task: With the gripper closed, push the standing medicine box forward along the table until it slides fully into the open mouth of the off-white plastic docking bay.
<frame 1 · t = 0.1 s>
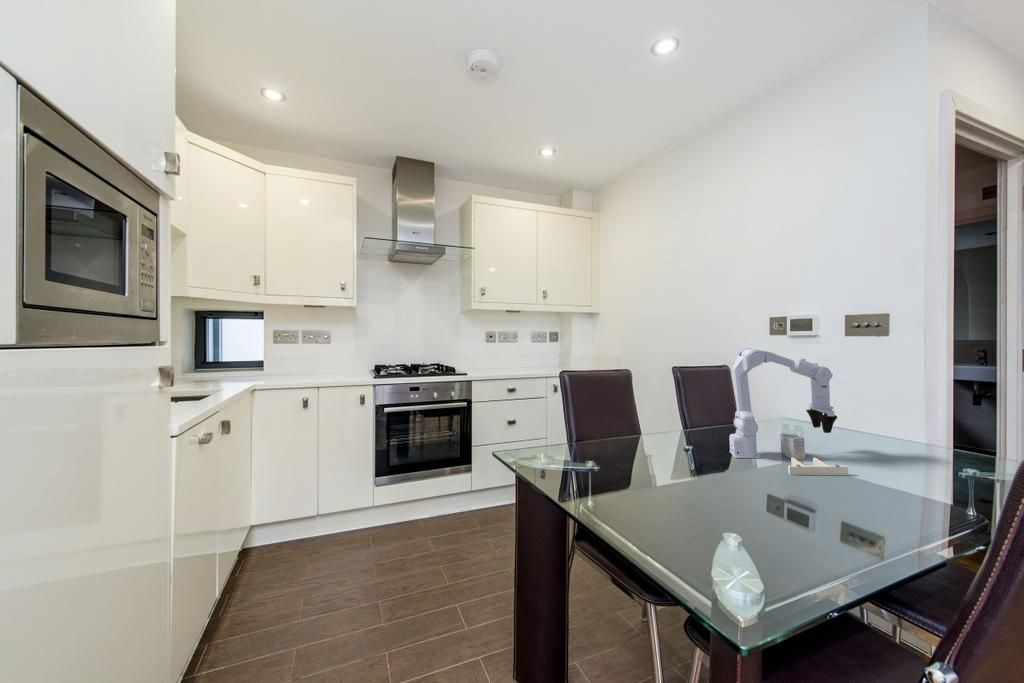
hand: (821, 429, 157), 10 cm above the table, tool pointing down, fingers open, 7 cm apart
dock: (809, 468, 145), on the table
medicine box: (793, 457, 158), on the table
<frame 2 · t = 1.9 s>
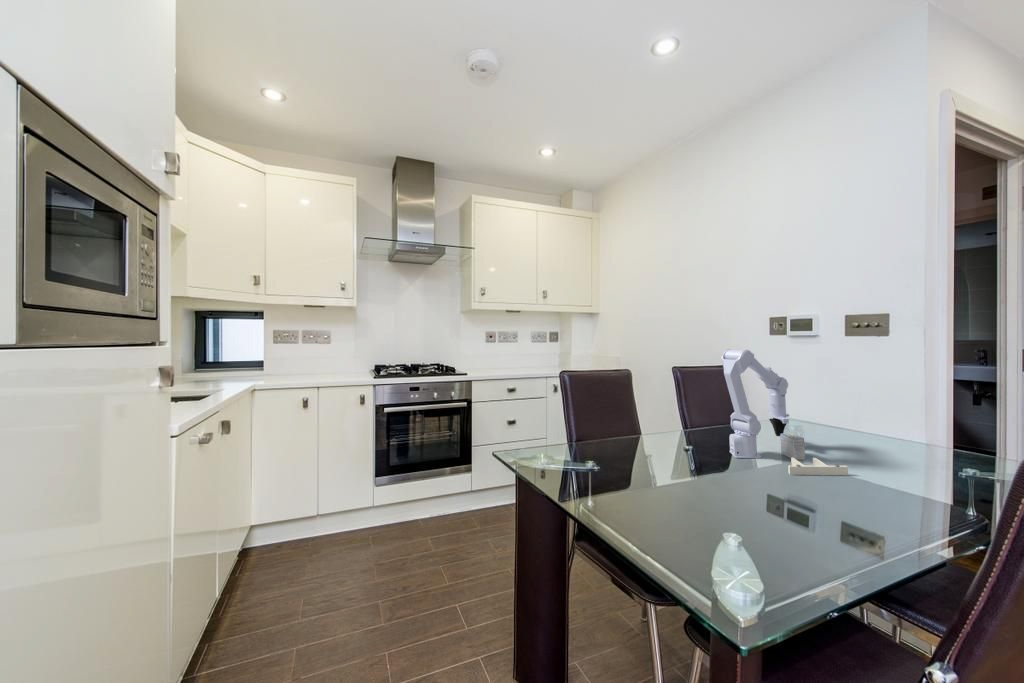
hand: (779, 435, 169), 5 cm above the table, tool pointing down, fingers closed
nothing on the table moved.
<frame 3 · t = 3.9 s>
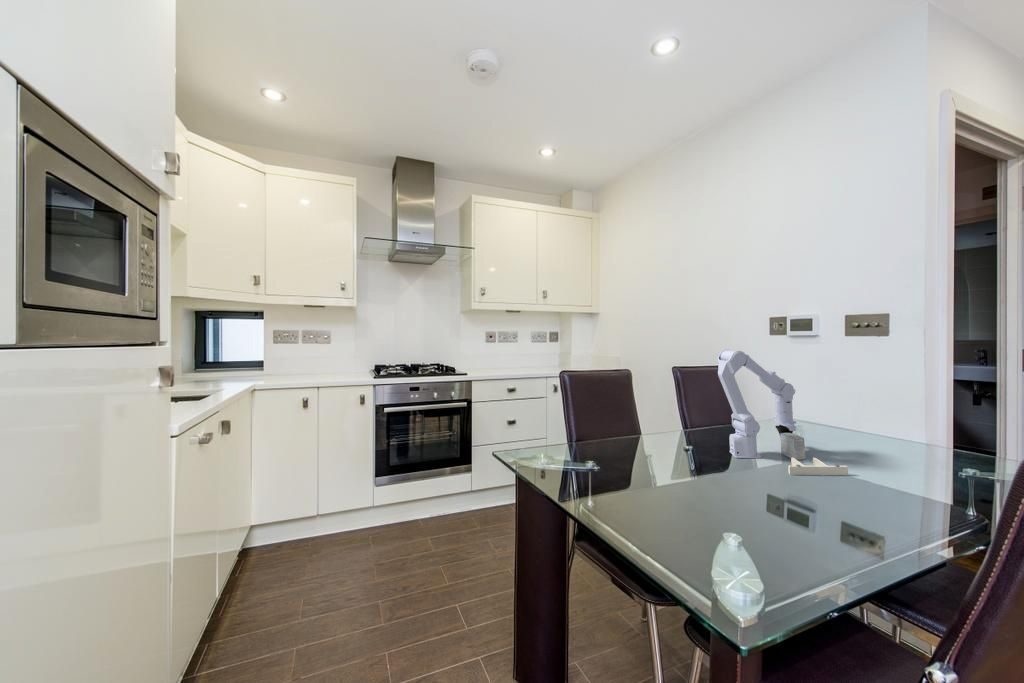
hand: (785, 443, 163), 3 cm above the table, tool pointing down, fingers closed
medicine box: (793, 457, 158), on the table, touching gripper
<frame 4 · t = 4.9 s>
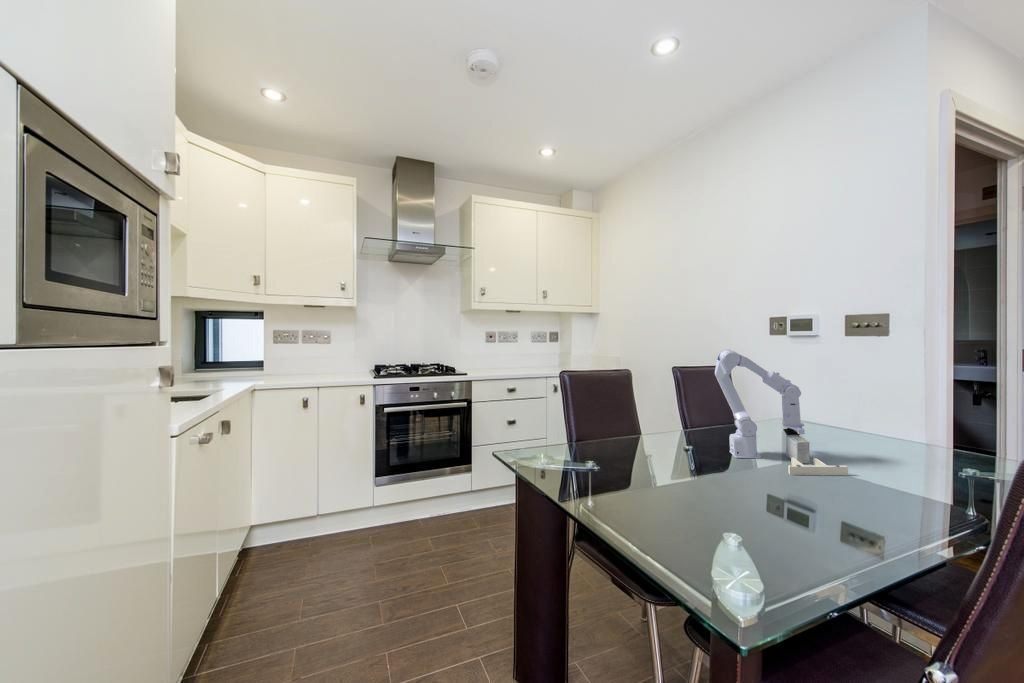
hand: (793, 446, 158), 4 cm above the table, tool pointing down, fingers closed, pressing on medicine box
medicine box: (797, 460, 154), on the table, touching gripper
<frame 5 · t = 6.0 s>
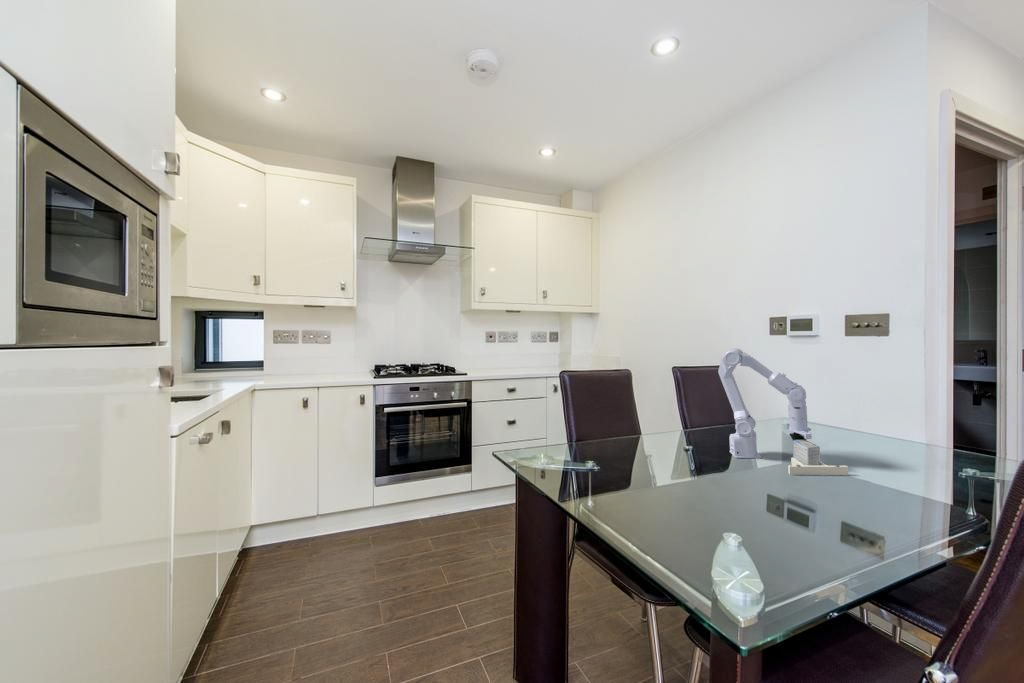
hand: (799, 452, 152), 4 cm above the table, tool pointing down, fingers closed, pressing on medicine box
medicine box: (806, 465, 148), on the table, touching gripper
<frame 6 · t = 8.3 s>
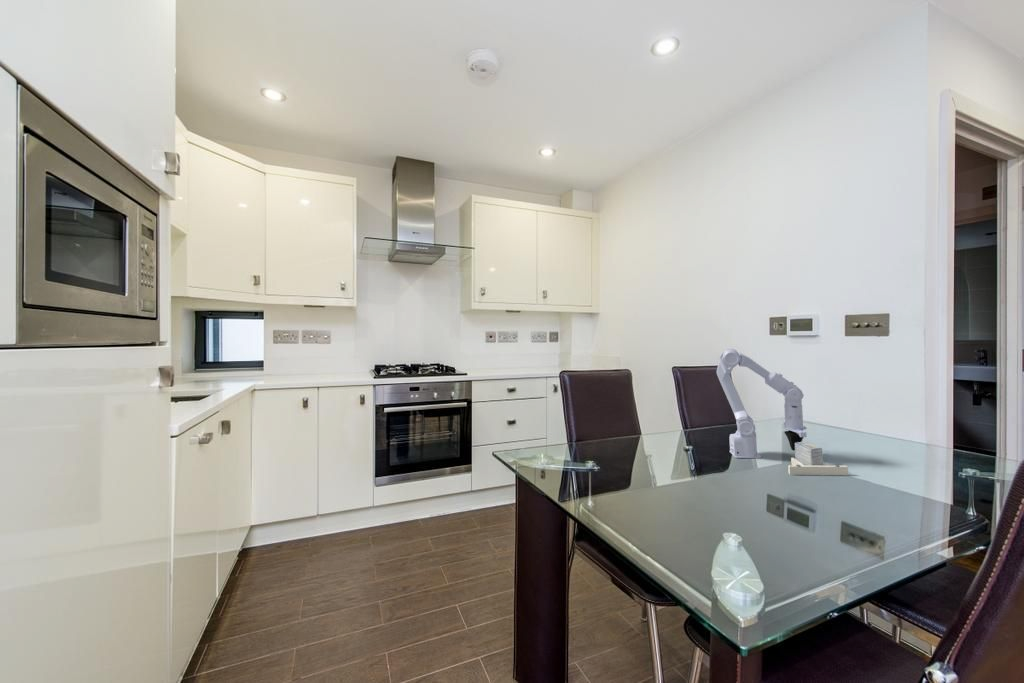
hand: (795, 450, 155), 3 cm above the table, tool pointing down, fingers closed
medicine box: (809, 468, 146), on the table
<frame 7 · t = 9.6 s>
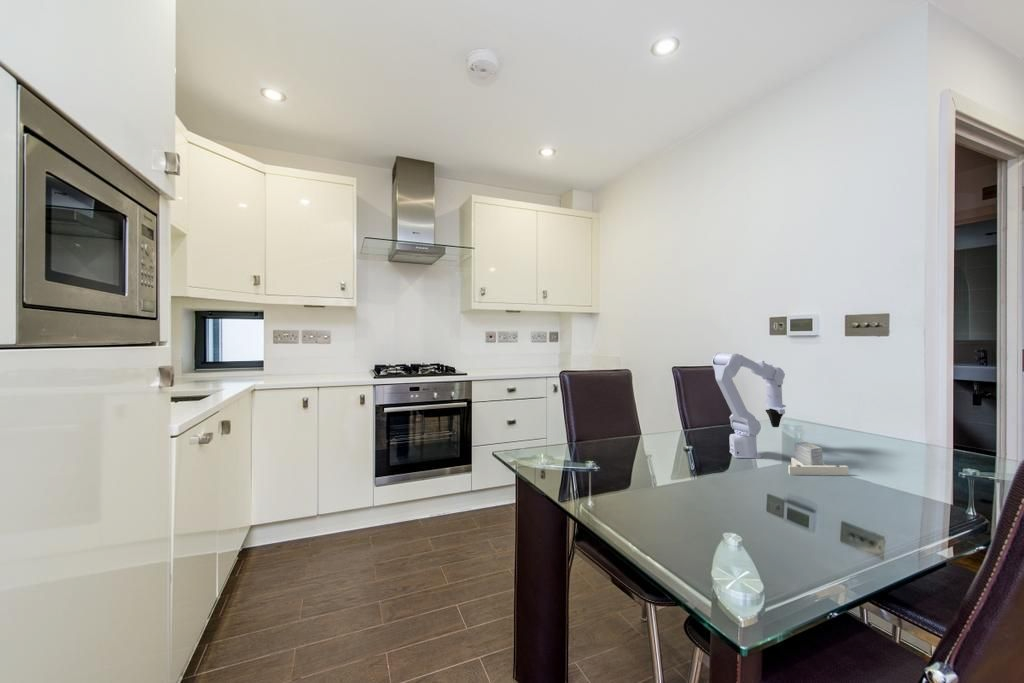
hand: (775, 426, 167), 9 cm above the table, tool pointing down, fingers closed
nothing on the table moved.
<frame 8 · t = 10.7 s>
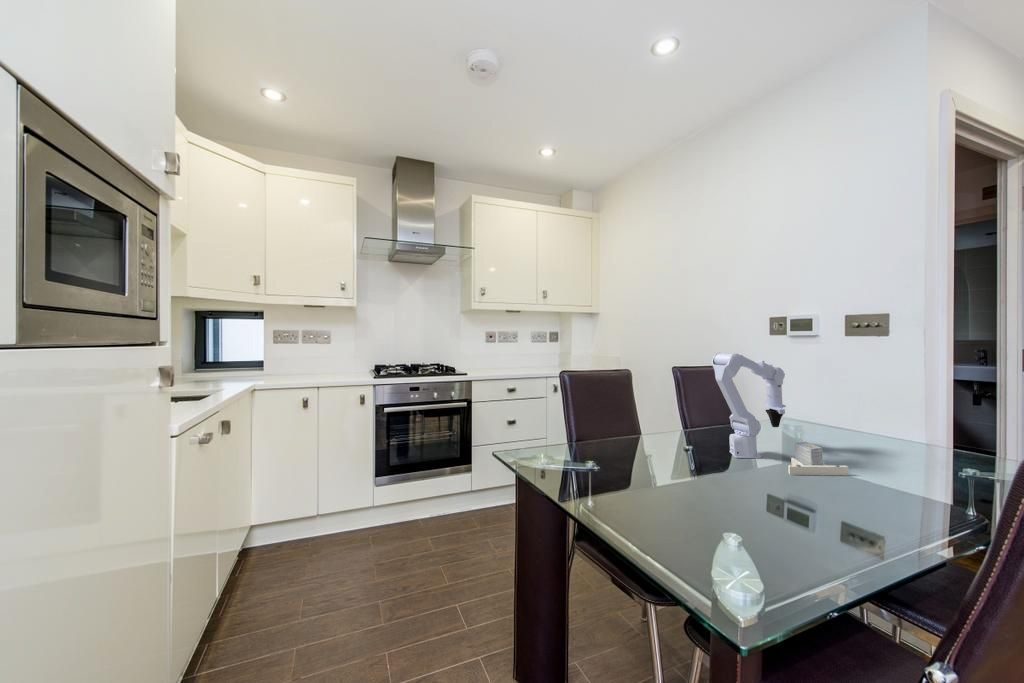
hand: (775, 426, 167), 9 cm above the table, tool pointing down, fingers closed
nothing on the table moved.
at the end: medicine box 0.8 cm off-centre on the dock, point 0.0 cm above the dock's base; medicine box tilted 0°; the gripper is holding nothing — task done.
